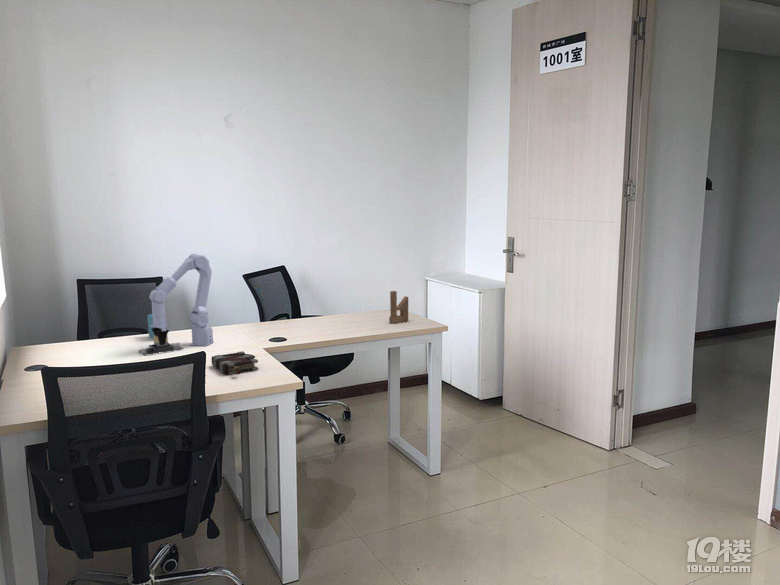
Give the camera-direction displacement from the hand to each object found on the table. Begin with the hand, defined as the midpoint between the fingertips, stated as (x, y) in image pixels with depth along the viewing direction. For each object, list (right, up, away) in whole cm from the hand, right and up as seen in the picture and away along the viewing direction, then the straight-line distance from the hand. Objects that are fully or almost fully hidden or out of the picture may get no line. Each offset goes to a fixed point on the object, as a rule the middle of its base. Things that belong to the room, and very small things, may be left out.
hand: (160, 343), depth 303 cm
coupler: (0, -2, 0) cm, 2 cm away
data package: (-11, 0, +26) cm, 28 cm away
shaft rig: (0, -3, +1) cm, 3 cm away
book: (+44, -9, -33) cm, 56 cm away
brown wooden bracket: (+113, +7, +58) cm, 128 cm away
